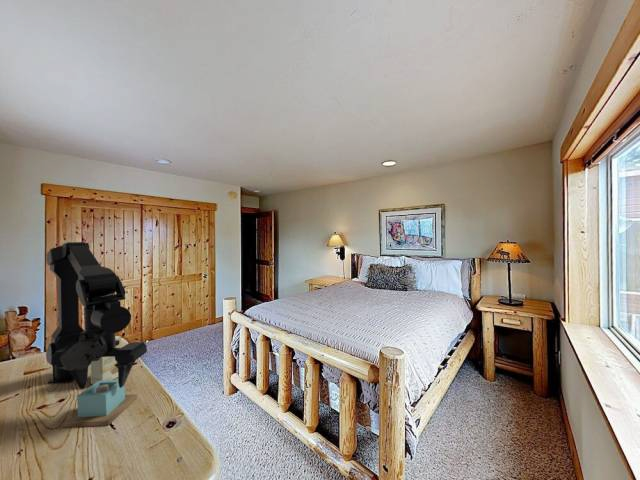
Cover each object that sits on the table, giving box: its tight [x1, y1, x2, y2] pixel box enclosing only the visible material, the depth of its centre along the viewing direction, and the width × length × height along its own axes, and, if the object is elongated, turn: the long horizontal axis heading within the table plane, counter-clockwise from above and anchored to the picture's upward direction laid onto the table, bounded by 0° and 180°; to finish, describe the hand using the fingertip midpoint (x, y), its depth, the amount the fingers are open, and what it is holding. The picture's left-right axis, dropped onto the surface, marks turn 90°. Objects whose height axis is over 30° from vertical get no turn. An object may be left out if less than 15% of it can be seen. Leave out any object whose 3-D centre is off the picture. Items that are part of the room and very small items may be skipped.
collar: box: [76, 379, 126, 417], centre depth 65 cm, size 6×6×5 cm
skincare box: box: [90, 335, 122, 385], centre depth 79 cm, size 6×4×12 cm
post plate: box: [62, 385, 138, 428], centre depth 65 cm, size 10×10×6 cm
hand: (102, 387), depth 65 cm, fingers open, 9 cm apart
